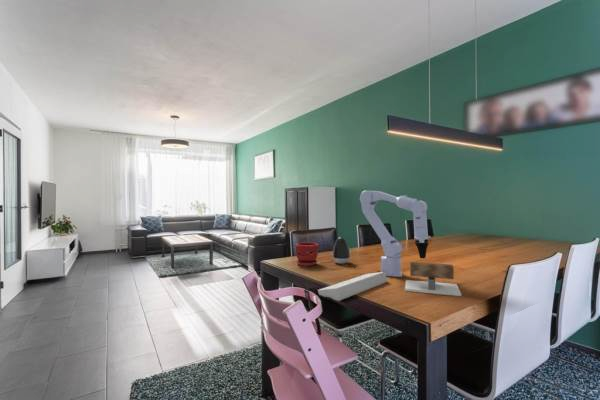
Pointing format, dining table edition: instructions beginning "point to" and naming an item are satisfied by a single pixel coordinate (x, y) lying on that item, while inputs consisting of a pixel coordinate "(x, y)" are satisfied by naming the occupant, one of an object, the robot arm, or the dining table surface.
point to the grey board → (439, 289)
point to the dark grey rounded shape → (341, 251)
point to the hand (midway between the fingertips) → (422, 256)
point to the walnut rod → (432, 270)
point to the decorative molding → (353, 286)
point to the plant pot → (306, 253)
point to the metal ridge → (431, 283)
